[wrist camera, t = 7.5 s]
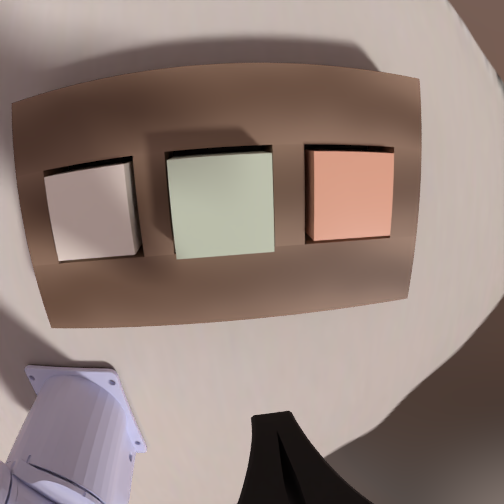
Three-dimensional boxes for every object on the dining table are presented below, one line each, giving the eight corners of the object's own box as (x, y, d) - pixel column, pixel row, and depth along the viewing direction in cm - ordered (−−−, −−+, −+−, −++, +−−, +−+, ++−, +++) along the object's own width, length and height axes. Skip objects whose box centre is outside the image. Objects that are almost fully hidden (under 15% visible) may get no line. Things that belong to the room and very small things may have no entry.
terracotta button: (364, 220, 18) (390, 235, 15) (297, 224, 17) (313, 240, 15) (366, 149, 16) (393, 153, 14) (296, 149, 16) (313, 151, 13)
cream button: (147, 235, 17) (135, 254, 14) (80, 241, 16) (58, 261, 13) (139, 159, 15) (123, 164, 12) (69, 170, 15) (44, 177, 12)
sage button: (263, 231, 16) (274, 251, 13) (182, 237, 16) (176, 259, 13) (260, 150, 15) (271, 153, 12) (175, 156, 14) (166, 160, 12)
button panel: (384, 277, 20) (407, 298, 17) (69, 303, 18) (51, 328, 15) (390, 85, 16) (419, 78, 13) (39, 106, 14) (11, 103, 11)
